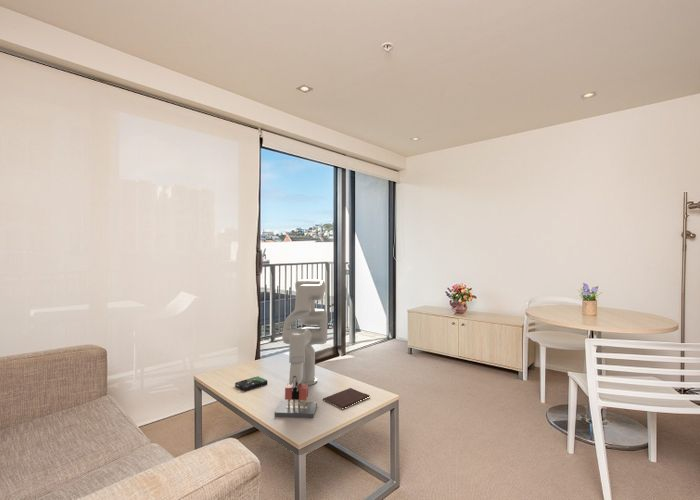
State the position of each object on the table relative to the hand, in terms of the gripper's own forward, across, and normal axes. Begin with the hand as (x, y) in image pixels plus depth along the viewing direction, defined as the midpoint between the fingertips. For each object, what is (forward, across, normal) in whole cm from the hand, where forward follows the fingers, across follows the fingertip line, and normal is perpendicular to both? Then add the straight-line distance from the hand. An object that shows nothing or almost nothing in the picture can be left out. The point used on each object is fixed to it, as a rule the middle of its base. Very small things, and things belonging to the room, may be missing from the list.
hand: (296, 396), depth 167 cm
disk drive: (+8, -30, -32) cm, 45 cm away
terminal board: (+7, 0, 0) cm, 7 cm away
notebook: (+8, -16, +23) cm, 29 cm away
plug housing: (+1, 0, 0) cm, 1 cm away
